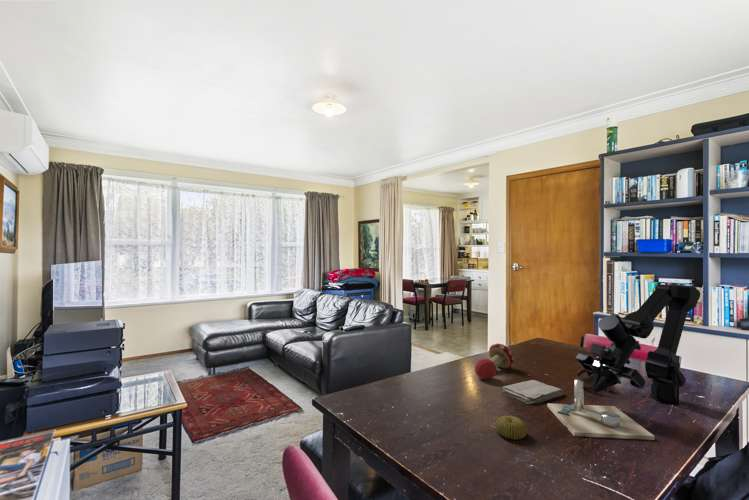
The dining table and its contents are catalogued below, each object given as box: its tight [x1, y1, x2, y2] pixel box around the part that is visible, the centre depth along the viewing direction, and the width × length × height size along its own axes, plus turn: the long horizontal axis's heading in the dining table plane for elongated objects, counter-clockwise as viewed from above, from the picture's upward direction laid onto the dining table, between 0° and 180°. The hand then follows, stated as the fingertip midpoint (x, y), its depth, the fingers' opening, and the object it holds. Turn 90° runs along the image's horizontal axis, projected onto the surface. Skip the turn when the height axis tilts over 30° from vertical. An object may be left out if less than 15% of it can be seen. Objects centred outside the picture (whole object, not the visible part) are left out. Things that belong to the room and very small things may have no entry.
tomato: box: [474, 358, 497, 381], centre depth 137 cm, size 8×8×8 cm
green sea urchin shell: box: [494, 414, 528, 441], centre depth 96 cm, size 8×4×8 cm
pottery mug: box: [575, 367, 610, 393], centre depth 130 cm, size 12×10×8 cm
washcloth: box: [501, 379, 564, 405], centre depth 123 cm, size 12×18×3 cm, turn 120°
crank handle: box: [565, 378, 620, 428], centre depth 103 cm, size 14×4×10 cm, turn 41°
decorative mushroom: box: [488, 343, 515, 370], centre depth 148 cm, size 11×11×15 cm
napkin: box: [546, 403, 656, 441], centre depth 103 cm, size 20×18×1 cm
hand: (593, 391), depth 107 cm, fingers closed
